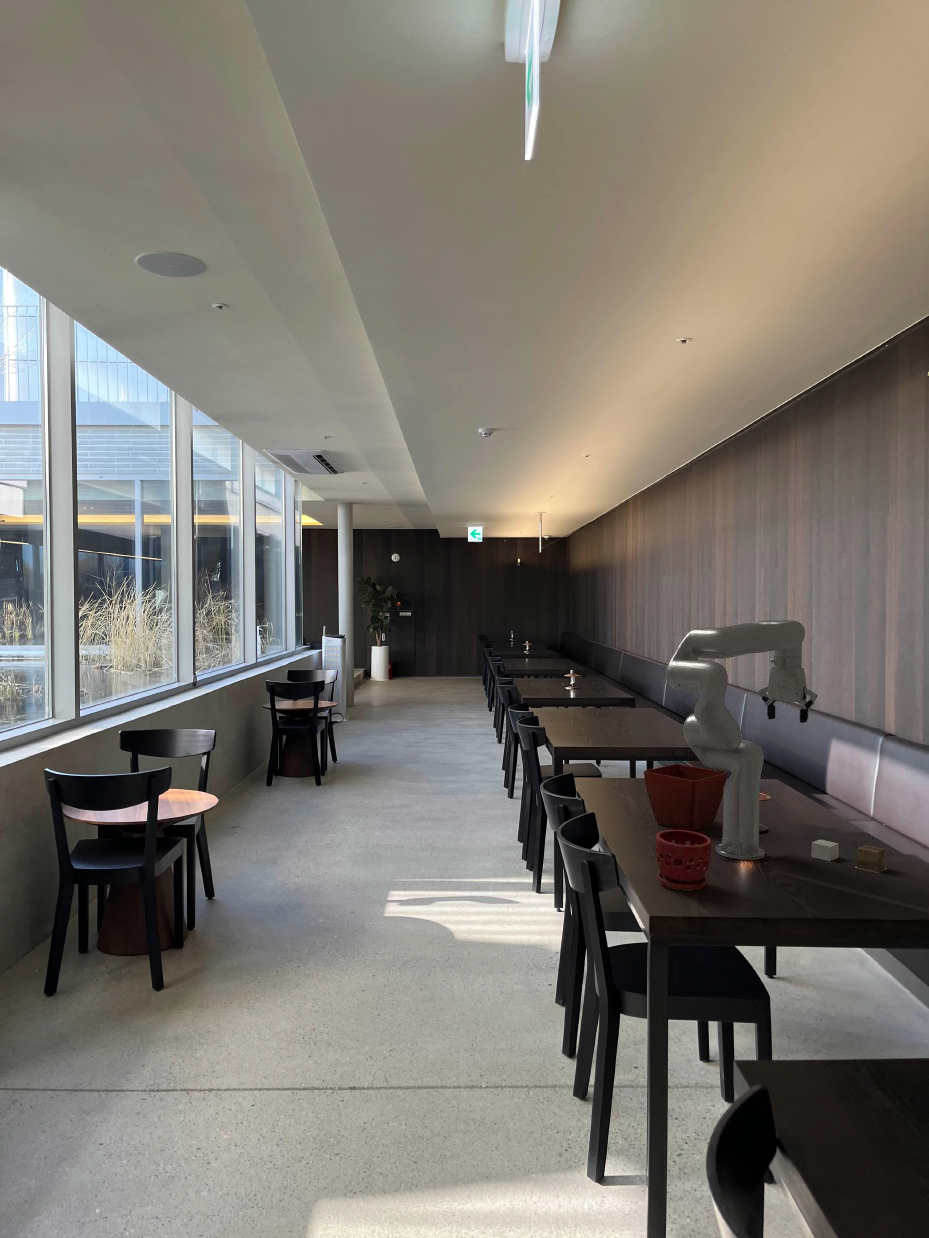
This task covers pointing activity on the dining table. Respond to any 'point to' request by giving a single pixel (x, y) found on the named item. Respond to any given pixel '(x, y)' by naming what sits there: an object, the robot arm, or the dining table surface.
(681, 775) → the plant pot
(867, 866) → the walnut block
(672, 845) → the plant pot
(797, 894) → the dining table surface
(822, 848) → the cream block
